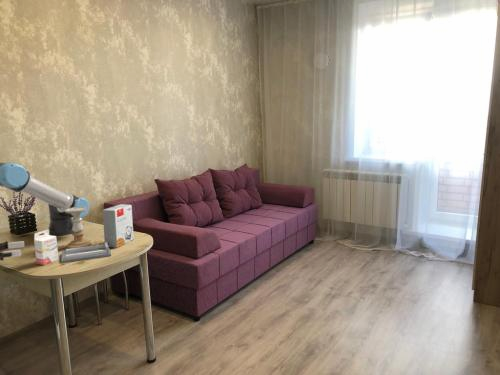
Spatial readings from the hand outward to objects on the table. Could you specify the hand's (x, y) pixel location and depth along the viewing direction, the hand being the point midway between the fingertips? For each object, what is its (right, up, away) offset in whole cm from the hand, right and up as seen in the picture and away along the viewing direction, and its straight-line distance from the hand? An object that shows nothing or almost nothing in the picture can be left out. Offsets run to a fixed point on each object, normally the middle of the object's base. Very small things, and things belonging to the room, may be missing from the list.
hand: (22, 248), depth 184 cm
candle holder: (+14, -3, +28) cm, 32 cm away
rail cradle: (+24, -5, +14) cm, 28 cm away
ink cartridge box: (+9, -7, +5) cm, 13 cm away
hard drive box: (+35, -2, +31) cm, 47 cm away
